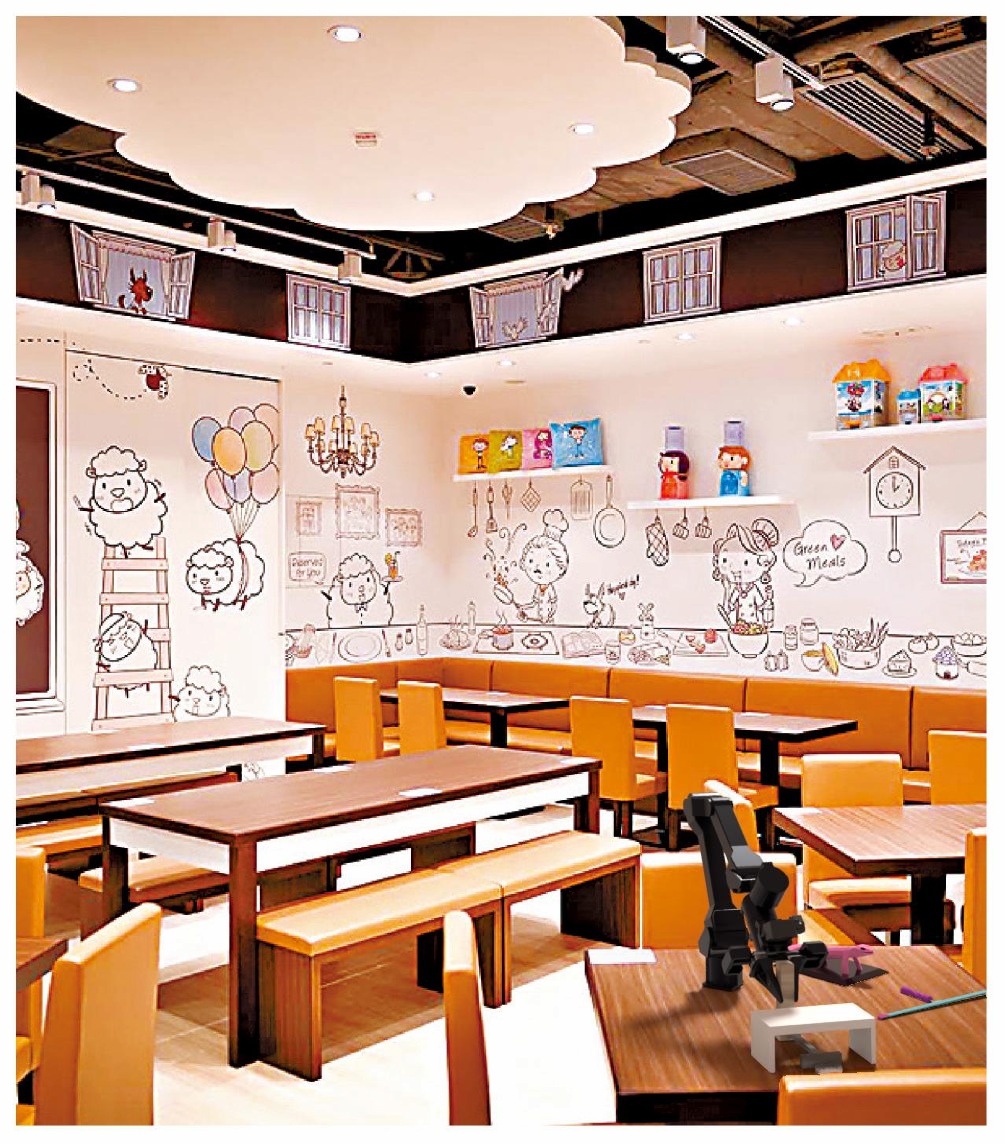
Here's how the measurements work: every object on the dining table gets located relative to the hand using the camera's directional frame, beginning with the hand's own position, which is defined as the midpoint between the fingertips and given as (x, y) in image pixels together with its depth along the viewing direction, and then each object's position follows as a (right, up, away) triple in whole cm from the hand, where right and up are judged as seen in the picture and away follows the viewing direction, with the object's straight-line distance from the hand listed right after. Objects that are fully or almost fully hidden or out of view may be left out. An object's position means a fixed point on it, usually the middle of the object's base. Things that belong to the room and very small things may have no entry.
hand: (789, 1001), depth 214 cm
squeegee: (+30, -8, +21) cm, 37 cm away
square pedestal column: (+1, -6, -5) cm, 8 cm away
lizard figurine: (+19, -9, +40) cm, 45 cm away
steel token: (+3, -7, -15) cm, 16 cm away
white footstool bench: (+2, -6, -9) cm, 11 cm away
